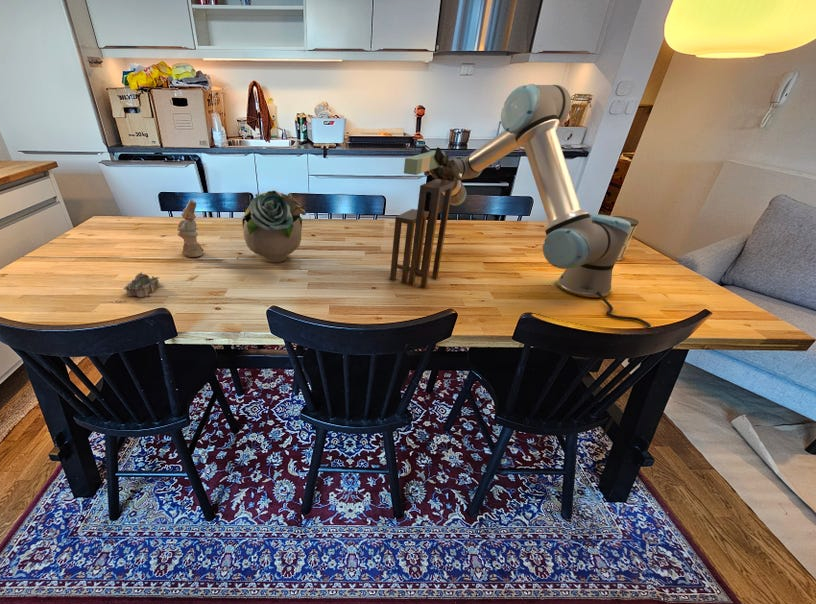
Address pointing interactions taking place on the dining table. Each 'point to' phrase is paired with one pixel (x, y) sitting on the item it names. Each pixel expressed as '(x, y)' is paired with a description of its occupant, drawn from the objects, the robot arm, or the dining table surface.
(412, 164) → the sage box
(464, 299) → the dining table surface
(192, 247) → the figurine
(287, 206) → the flower arrangement
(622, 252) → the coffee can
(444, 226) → the step rack
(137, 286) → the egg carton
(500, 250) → the dining table surface
